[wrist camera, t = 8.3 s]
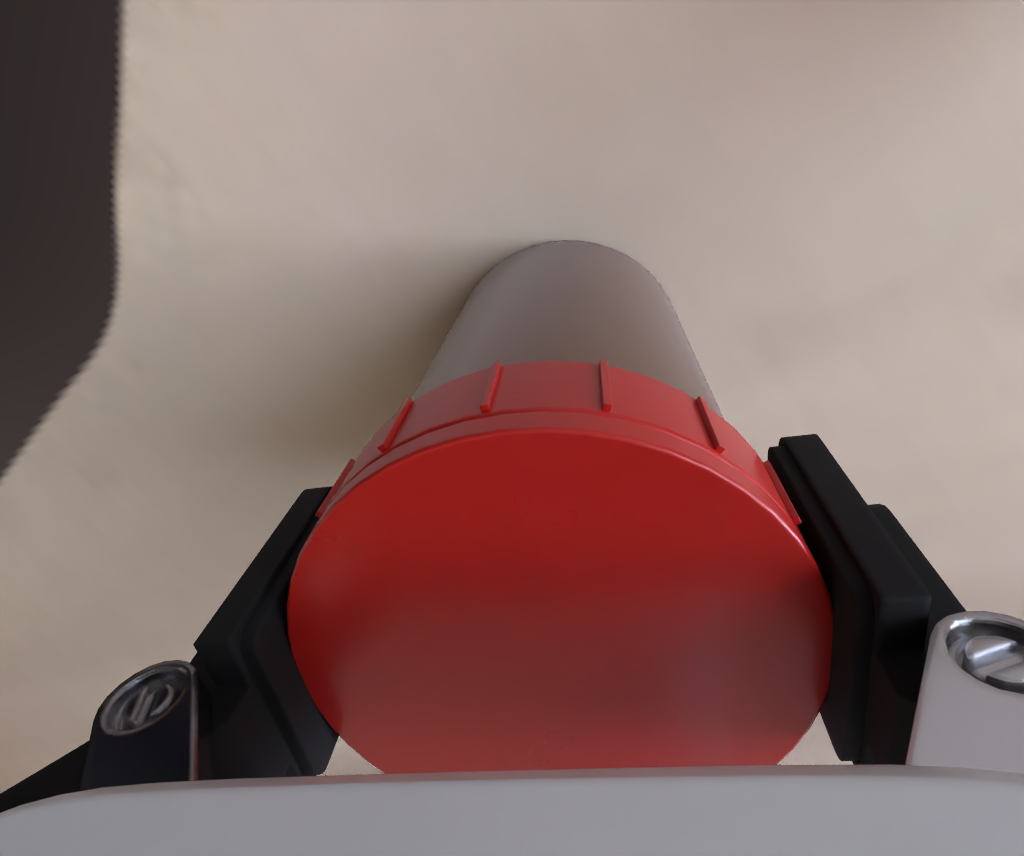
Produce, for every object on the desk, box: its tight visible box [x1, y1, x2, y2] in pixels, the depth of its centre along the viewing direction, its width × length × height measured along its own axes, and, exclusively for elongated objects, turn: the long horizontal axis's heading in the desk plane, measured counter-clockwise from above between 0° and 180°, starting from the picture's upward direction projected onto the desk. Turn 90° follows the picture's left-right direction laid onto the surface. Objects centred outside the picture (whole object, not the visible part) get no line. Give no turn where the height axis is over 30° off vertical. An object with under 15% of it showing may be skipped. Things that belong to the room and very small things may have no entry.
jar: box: [411, 240, 724, 419], centre depth 14 cm, size 7×7×12 cm
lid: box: [287, 360, 833, 774], centre depth 10 cm, size 8×8×2 cm
